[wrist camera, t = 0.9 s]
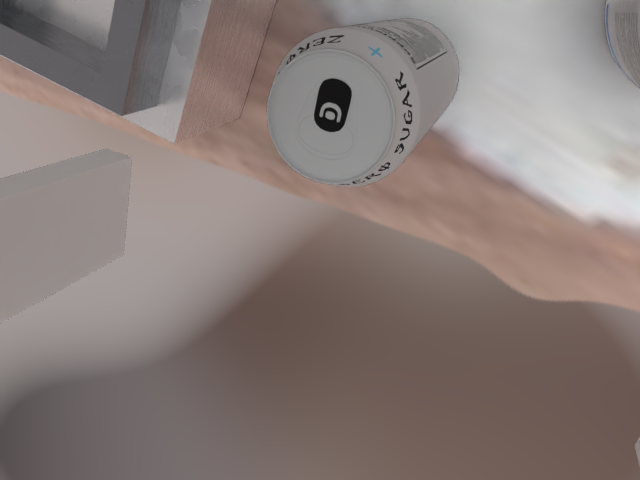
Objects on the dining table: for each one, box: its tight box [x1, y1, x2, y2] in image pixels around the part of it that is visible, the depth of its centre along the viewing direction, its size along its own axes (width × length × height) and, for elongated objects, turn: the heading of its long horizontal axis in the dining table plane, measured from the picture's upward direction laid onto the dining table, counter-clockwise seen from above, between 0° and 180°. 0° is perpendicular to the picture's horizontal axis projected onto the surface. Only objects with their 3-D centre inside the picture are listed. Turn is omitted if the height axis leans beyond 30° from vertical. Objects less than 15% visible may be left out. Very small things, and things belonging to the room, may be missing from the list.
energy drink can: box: [267, 18, 459, 187], centre depth 27 cm, size 6×6×15 cm
